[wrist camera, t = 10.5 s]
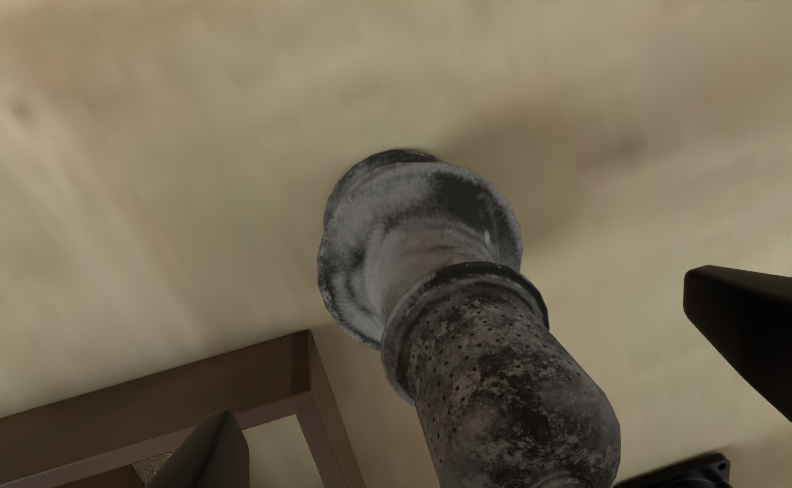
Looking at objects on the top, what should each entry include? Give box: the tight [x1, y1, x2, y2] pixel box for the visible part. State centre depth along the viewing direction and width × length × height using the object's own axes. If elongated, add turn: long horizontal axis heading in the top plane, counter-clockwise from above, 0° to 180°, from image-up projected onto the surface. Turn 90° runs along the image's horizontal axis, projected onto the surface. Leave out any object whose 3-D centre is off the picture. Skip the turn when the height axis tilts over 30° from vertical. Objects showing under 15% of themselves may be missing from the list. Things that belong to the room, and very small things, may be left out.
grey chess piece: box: [317, 150, 621, 488], centre depth 11 cm, size 6×6×12 cm
